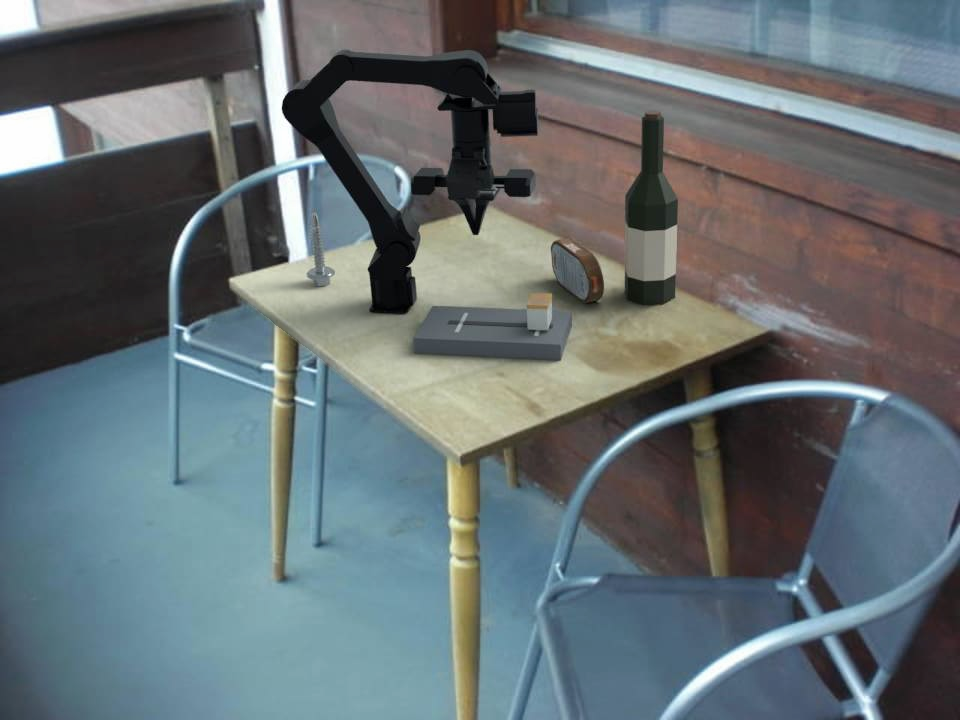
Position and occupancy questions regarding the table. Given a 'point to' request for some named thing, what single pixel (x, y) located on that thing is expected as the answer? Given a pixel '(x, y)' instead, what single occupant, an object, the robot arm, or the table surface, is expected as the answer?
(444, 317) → the fader board
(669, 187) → the wine bottle
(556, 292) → the table surface
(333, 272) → the screw
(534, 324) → the fader
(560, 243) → the tin
